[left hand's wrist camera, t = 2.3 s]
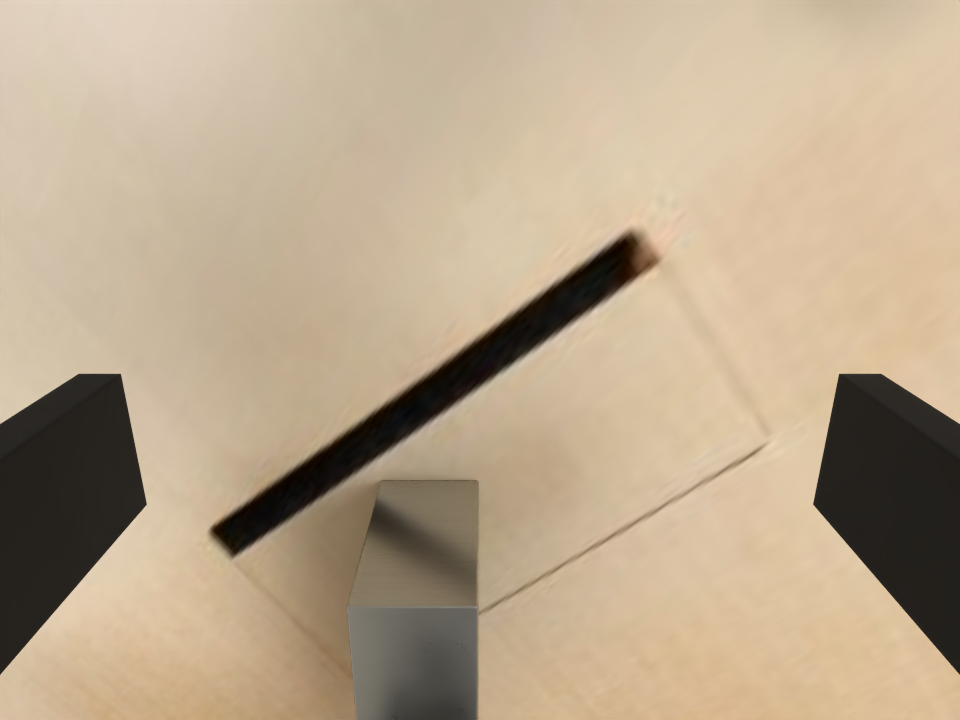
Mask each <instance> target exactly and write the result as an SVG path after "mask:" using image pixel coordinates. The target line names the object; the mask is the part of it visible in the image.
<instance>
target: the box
mask: <svg viewBox="0 0 960 720" xmlns="http://www.w3.org/2000/svg"><path fill="white" fill-rule="evenodd" d="M347 616H348V628H349V639H350V651H351V663H352V675H353V687H354V699H355V711H356V720H479V680H478V481H381V483H380V487H379V491H378V494H377V498H376V502H375V505H374V509H373V513H372V516H371V520H370V524H369V527H368V531H367V535H366V538H365V542H364V546H363V549H362V553H361V557H360V560H359V564H358V568H357V571H356V575H355V579H354V582H353V586H352V590H351V593H350V597H349V601H348V604H347Z"/></svg>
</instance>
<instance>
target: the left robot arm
mask: <svg viewBox="0 0 960 720" xmlns="http://www.w3.org/2000/svg"><path fill="white" fill-rule="evenodd" d="M146 505H147V503H146V498H145V493H144V488H143V483H142V478H141V473H140V468H139V463H138V458H137V453H136V448H135V443H134V438H133V433H132V428H131V423H130V418H129V413H128V408H127V403H126V398H125V393H124V388H123V383H122V378H121V374H78V375H76V376H75V377H73V378H72V379H70V380H69V381H67V382H65V383H64V384H62V385H61V386H59V387H58V388H56V389H55V390H53V391H51V392H50V393H48V394H47V395H45V396H44V397H42V398H40V399H39V400H37V401H36V402H34V403H33V404H31V405H29V406H28V407H26V408H25V409H23V410H22V411H20V412H19V413H17V414H15V415H14V416H12V417H11V418H9V419H8V420H6V421H4V422H3V423H1V424H0V674H1V673H2V672H3V671H4V670H5V668H6V667H7V666H8V665H9V664H10V663H11V661H12V660H13V659H14V658H15V657H16V656H17V655H18V653H19V652H20V651H21V650H22V649H23V648H24V646H25V645H26V644H27V643H28V642H29V641H30V639H31V638H32V637H33V636H34V635H35V634H36V632H37V631H38V630H39V629H40V628H41V627H42V625H43V624H44V623H45V622H46V621H47V620H48V619H49V617H50V616H51V615H52V614H53V613H54V612H55V610H56V609H57V608H58V607H59V606H60V605H61V603H62V602H63V601H64V600H65V599H66V598H67V596H68V595H69V594H70V593H71V592H72V591H73V589H74V588H75V587H76V586H77V585H78V584H79V583H80V581H81V580H82V579H83V578H84V577H85V576H86V574H87V573H88V572H89V571H90V570H91V569H92V567H93V566H94V565H95V564H96V563H97V562H98V560H99V559H100V558H101V557H102V556H103V555H104V553H105V552H106V551H107V550H108V549H109V548H110V547H111V545H112V544H113V543H114V542H115V541H116V540H117V538H118V537H119V536H120V535H121V534H122V533H123V531H124V530H125V529H126V528H127V527H128V526H129V524H130V523H131V522H132V521H133V520H134V519H135V517H136V516H137V515H138V514H139V513H140V512H141V511H142V509H143V508H144V507H145V506H146ZM813 505H814V506H815V507H816V508H817V509H818V511H819V512H820V513H821V514H822V515H823V516H824V517H825V519H826V520H827V521H828V522H829V523H830V524H831V526H832V527H833V528H834V529H835V530H836V531H837V533H838V534H839V535H840V536H841V537H842V538H843V540H844V541H845V542H846V543H847V544H848V545H849V547H850V548H851V549H852V550H853V551H854V552H855V553H856V555H857V556H858V557H859V558H860V559H861V560H862V562H863V563H864V564H865V565H866V566H867V567H868V569H869V570H870V571H871V572H872V573H873V574H874V576H875V577H876V578H877V579H878V580H879V581H880V583H881V584H882V585H883V586H884V587H885V588H886V589H887V591H888V592H889V593H890V594H891V595H892V596H893V598H894V599H895V600H896V601H897V602H898V603H899V605H900V606H901V607H902V608H903V609H904V610H905V612H906V613H907V614H908V615H909V616H910V617H911V619H912V620H913V621H914V622H915V623H916V624H917V625H918V627H919V628H920V629H921V630H922V631H923V632H924V634H925V635H926V636H927V637H928V638H929V639H930V641H931V642H932V643H933V644H934V645H935V646H936V648H937V649H938V650H939V651H940V652H941V653H942V655H943V656H944V657H945V658H946V659H947V660H948V661H949V663H950V664H951V665H952V666H953V667H954V668H955V670H956V671H957V672H958V673H959V674H960V424H959V423H957V422H956V421H954V420H952V419H951V418H949V417H948V416H946V415H945V414H943V413H941V412H940V411H938V410H937V409H935V408H934V407H932V406H931V405H929V404H927V403H926V402H924V401H923V400H921V399H920V398H918V397H916V396H915V395H913V394H912V393H910V392H909V391H907V390H905V389H904V388H902V387H901V386H899V385H898V384H896V383H895V382H893V381H891V380H890V379H888V378H887V377H885V376H884V375H882V374H839V378H838V383H837V388H836V393H835V398H834V403H833V408H832V413H831V418H830V423H829V428H828V433H827V438H826V443H825V448H824V453H823V458H822V463H821V468H820V473H819V478H818V483H817V488H816V493H815V498H814V503H813Z"/></svg>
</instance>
